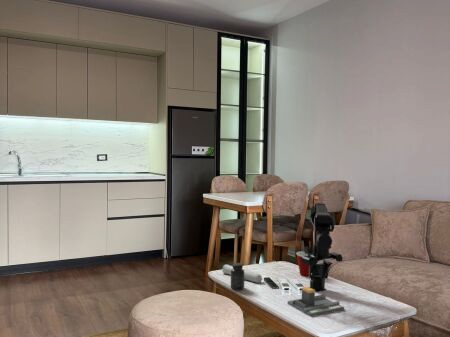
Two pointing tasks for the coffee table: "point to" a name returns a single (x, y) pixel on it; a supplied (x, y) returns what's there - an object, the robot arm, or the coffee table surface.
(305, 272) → the plastic cup
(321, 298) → the panel
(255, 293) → the coffee table surface
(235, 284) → the supplement bottle
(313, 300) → the handle
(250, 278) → the tube
